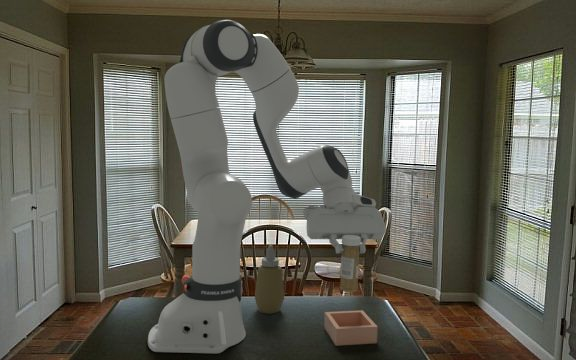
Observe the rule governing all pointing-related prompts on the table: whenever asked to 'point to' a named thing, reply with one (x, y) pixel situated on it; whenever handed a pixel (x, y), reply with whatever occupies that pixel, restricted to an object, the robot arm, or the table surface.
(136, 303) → the table surface
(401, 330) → the table surface
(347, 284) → the sprinkles bottle
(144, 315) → the table surface
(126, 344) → the table surface
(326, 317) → the terracotta socket
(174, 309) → the robot arm
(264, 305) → the squeeze bottle
